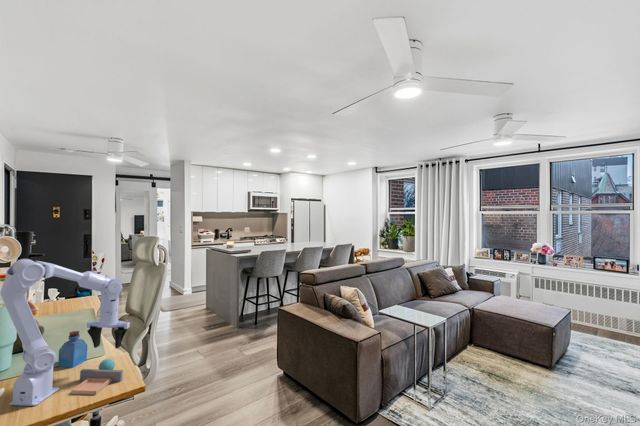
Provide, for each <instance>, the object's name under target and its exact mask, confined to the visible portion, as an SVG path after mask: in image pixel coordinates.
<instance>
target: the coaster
mask: <svg viewBox="0 0 640 426" xmlns="http://www.w3.org/2000/svg"><path fill="white" fill-rule="evenodd" d="M111 383H113V382H112V378H87V379H86V380H85V381H81V383H79V384H78V385H76V386H75V387H74V388H72V389H71V392H70V393H71V394H72V395H90V396H91V395H97V394H99V393H100V392H101V391H103V389H105V388H106V387H107V386H108V385H109V384H111Z"/></svg>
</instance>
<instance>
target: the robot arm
mask: <svg viewBox="0 0 640 426" xmlns="http://www.w3.org/2000/svg"><path fill="white" fill-rule="evenodd" d="M52 277H55V278H56V277H57V278H60V279H65V280H69V281H73V282H77V284H78V286H79V287H80V288H84V289H88V290H92V291H96V292H100V307H99V320H90V321H88V322H86V329H87V328H88V329H87V335H89V336H90V338H91V341H92V345H93V347H94V348H95V349H96V348H98V347H99V346H100V345H101V335H102V330H103V328H104V329H105V328H106V329H109V328H110V329H115V330H113V334H114V341H115V342H114V347H115V349H119V348H120V347H121V345H122V342H123V339H124V336H125V334H126V333H127V331H128V330H129V328H131V327H130V326H131V322H129V321H123V320H119V305H120V304H119V303H120V293H121V292H122V290H123V284H122V282H121V281H120V280H118V279H116V278H113V277H111V276H110V275H108V274H106V275H103V274H101V273H98V271H96V270H91V271H90V270H87V271H84V272H79V271H76V270H73V269H70V268H67V267H65V266H64V267H63V266H61V265H58V264H54V263H51V262H45V261H40V260H35V261H34V260H32V259H29V258H21V259H18V260H16V261H14V263H13V262H12V264H11V265H10V267H8V269H6V273H5V278H4V280H3V284H2V286H1V290H0V297H1V300H2V302H3V304H4V306H5V308H6V311H7V313H8V315H9V317H10V319H11V322H12V324H13V326H14V328H15V330H16V333H17V335H18V337H19V339H20V341H21V343H22V345H21V347H22V349H23V352H22V360H23V361H24V362H25V363H26V364H25V366H24V368H23V372H22V374H21V375H20V377H18V378H16V380H15V381H14V382H13V385H12V401H11V402H9V406H32V407H33V406H34V407H35V406H37V405H39V404H41V403H42V402H43V401H44V400H46V399H48V398H49V397H50V396H51V395H53V394H54V393H56V392H57V391H59V390H60V387H59V386H58V387H53V381H54V366H55V365H54V364H55V363H56V361H57V354H56V352H55V351H54V350H52V349H50V347H49V346H48V344H47V342H46V341H45V339H44V338H43V335H42V333H41V331H40V327H39V326H38V323H37V321H36V318H35V317H34V316H35V315H34V314H33V312H32V309H31V307H30V304H29V303H28V300H27V298H26V295H25V294H26V293H27V292H28V290H29V289H30V288H31V287H32V286H34V285H35V284H37V282H39V281H40V280H41V279H43V278H44V279H46V280H47V279H49V278H52Z"/></svg>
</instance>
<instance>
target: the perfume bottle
mask: <svg viewBox="0 0 640 426" xmlns="http://www.w3.org/2000/svg"><path fill="white" fill-rule="evenodd" d="M80 337H81V335H80V331H79V330H74V331H70V332H69V336H68V341H64V343H63V344H62V345H61V347H59V350H58V364H57V366H58V367H62V368H72V369H73V368H76V367H78V366H79V365H81V364H83V363H85V362H86V361H87V359H88V344H87V343H86V342H85V340H84V339H80Z"/></svg>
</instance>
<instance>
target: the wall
mask: <svg viewBox="0 0 640 426" xmlns="http://www.w3.org/2000/svg"><path fill="white" fill-rule="evenodd" d="M79 372H80V373H79V381H81V382H83V381H85V380H86V379H87V378H112V382H111V383H113V382H114V383H115V382H116V383H120V382H122V381H123V375H124V373H123V372H124V371H123V369H122V370H121V369H113V370H99V369H93V368H92V369H91V368H90V369H89V368H88V369H87V368H82V369H81V370H79Z"/></svg>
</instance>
